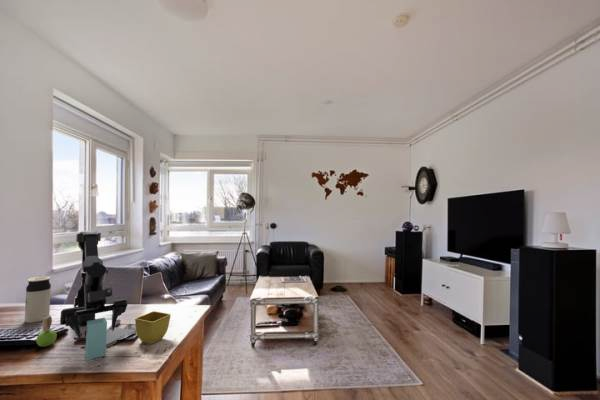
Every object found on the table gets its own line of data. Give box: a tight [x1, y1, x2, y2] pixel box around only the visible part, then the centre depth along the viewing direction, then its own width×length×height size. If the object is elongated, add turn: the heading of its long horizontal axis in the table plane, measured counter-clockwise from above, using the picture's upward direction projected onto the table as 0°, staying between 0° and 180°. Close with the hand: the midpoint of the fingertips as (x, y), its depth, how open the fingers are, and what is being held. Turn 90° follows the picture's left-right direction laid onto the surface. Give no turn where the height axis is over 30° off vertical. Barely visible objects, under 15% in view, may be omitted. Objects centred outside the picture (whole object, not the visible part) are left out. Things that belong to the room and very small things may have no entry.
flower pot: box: [134, 310, 171, 345], centre depth 107 cm, size 9×9×9 cm
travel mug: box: [24, 276, 52, 324], centre depth 125 cm, size 8×8×18 cm
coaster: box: [106, 326, 136, 348], centre depth 108 cm, size 10×12×1 cm
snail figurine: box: [35, 315, 58, 348], centre depth 101 cm, size 5×6×12 cm
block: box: [85, 317, 108, 361], centre depth 96 cm, size 5×5×11 cm
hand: (96, 334), depth 95 cm, fingers open, 9 cm apart
